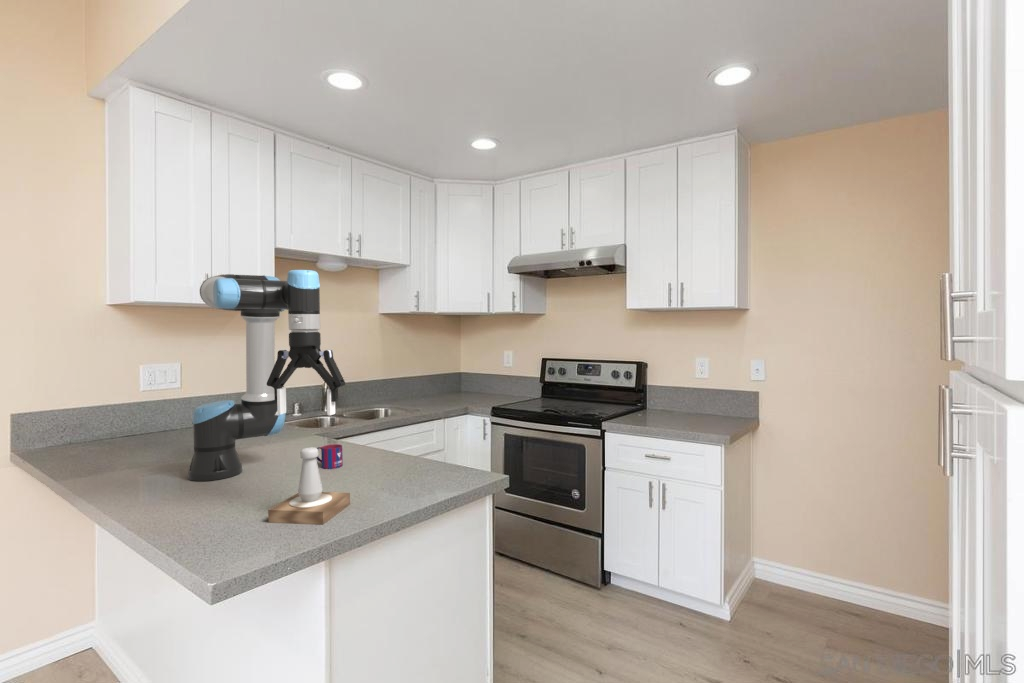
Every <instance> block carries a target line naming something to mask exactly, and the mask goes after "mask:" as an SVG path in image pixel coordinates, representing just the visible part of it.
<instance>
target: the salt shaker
mask: <svg viewBox="0 0 1024 683" xmlns="http://www.w3.org/2000/svg"><path fill="white" fill-rule="evenodd" d="M317 448H318V447H314V446H313V447H312V446H311V447H305V448H302V449H301V450H300V452H299V455H300V458H301V459H302V463H301V470H300V475H299V483H298V489H297V493H299V496H300V497H301V500H302V501H303V502H314V501H317V500H318V499H319V497H320V495H321V493H322V492H324V491H323V489H324V488H323V485H322V484H323V483H322V479H321V474H320V470H319V465H318V460H317V458H316V457H319V455H320V454H319V449H317Z"/></svg>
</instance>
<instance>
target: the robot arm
mask: <svg viewBox="0 0 1024 683" xmlns="http://www.w3.org/2000/svg"><path fill="white" fill-rule="evenodd" d="M319 277H320V276H319V273H318V272H317V271H316V270H309V269H292V270H289V271H287V277H286V280H280V279H279V277H276V276H270V275H265V274H264V275H253V274H252V275H251V274H250V275H248V274H232V273H231V274H230V273H229V274H228V273H227V274H219V275H218V274H217V275H213V276H210V277H209V278H207V279H205V280H204V281H203V282H202V283H201V285H200V286H199V295H200V299H201V300H202V302H203V303H204V304H206V305H207V306H209V307H211V308H213V309H216V310H217V309H218V310H223V311H230V312H231V311H232V312H240V317H241V318H242V320H244V321H245V352H246V353H245V363H246V365H245V366H246V367H245V368H246V370H245V371H246V372H245V373H246V379H245V380H246V390H245V391H246V392H245V393H244V394H243V395H242V396H241V398H240V399H241V401H240V403H236V404H235V401H234V400H232V399H225V400H219V401H213V402H208V403H205V404H204V403H203V404H202V405H199V406H197V407H196V408H194V410H193V411H192V421H191V422H192V426H193V427H192V428H193V430H192V432H193V454H192V458H191V462H190V465H189V469H188V470H187V474H188V476H187V478H188V480H190V481H194V482H208V481H215V480H216V481H217V480H223V479H227V478H232V477H235V476H237V475H239V474H241V473H242V472H243V464H242V461H241V460H240V456H239V454H238V451H237V448H236V441H237V440H244V439H249V438H252V439H253V438H258V437H268V436H271V435H276V434H279V433H280V432H281V431H282V430H283V427H284V424H285V421H286V414H287V388H286V387H285V384H286V383H287V382H288V380H289V379H290V378H291V377H292V375H293V374H294V372H295V371H296V370H297V369H301V368H302V369H303V368H306V369H311V368H312V369H313V370H314V371H316V373H317V374H318V375H319V377H320V378H321V379H322V380H323V381H324V382H325V384H326V385H327V386H328V388H327V389H326V408H327V410H326V411H327V416H332V415H335V414H336V402H338V400H339V388H341V387H343V386H345V385H346V381H345V379H344V377H343V375H342V373H341V371H340V369H339V367H338V364H337V362H336V361H335V359H334V352H333V350H332V349H326V350H321V339H322V338H321V337H322V336H321V333H320V330H321V312H320V309H321V306H320V305H321V303H320V302H321V300H320V298H321V297H320V287H321V283H320V278H319ZM285 310H287V313H288V330H289V331H291V332H289V333H288V346H289V350H286V349H281V350H278V351H277V358H276V357H275V356H276V355H275V354H276V353H275V352H276V351H275V349H276V347H275V346H276V343H275V342H276V341H275V340H276V338H275V335H276V331H275V330H276V329H275V328H276V327H275V324H276V323H275V322H276V321H277V320H278V319H279V318H280V317H281V316H280V313H281V312H284V311H285ZM288 358H289V359H290V361H289V362H288V364H287V367H286V368H285V369H284V367H285V365H286V362H287V360H288ZM321 358H322V359H323V360H324V362H325V365H326V367H327V368H326V367H325V366H324V364H323V362H322V361H321V360H320V359H321ZM275 359H276V360H275ZM327 369H328V370H327ZM283 370H284V371H283Z"/></svg>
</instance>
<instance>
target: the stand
mask: <svg viewBox="0 0 1024 683" xmlns="http://www.w3.org/2000/svg"><path fill="white" fill-rule="evenodd" d="M350 505H351V493H350V492H336V491H335V492H330V491H328V492H327V491H325V492H324V491H322V493H321V495H320V497H319V499H318V500H317V501H314V502H303V501H302V500H301V497H300V496H299V493H298V492H297V493H295V494H294V495H292V496H290V497H288V498H287V499H285V500H283V501H282V502H280V503H278V504H276V505H274V506H273V507H271V508H269V509H268V510H267V513H268V515H267V516H268V518H267V519H268V523H277V524H300V525H301V524H305V525H306V524H307V525H309V524H310V525H325V523H327V522H328V521H330V520H331V519H333V518H334V517H335V516H337V515H338V514H339V513H340V512H342V511H344V509H346V508H347V507H348V506H350Z"/></svg>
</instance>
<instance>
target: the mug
mask: <svg viewBox="0 0 1024 683" xmlns="http://www.w3.org/2000/svg"><path fill="white" fill-rule="evenodd" d="M316 448H317V449H318V450H321V452H320V455H321V458H320V457H319V456H318V457H316V460H317V462H320V463H321V468H322V469H324V470H334V469H339V468H341V467H343V464H344V462H343V460H344V459H343V445H342V444H336V443H335V444H334V443H333V444H327V445H326V444H325V445H323V446H319V447H316Z"/></svg>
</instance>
